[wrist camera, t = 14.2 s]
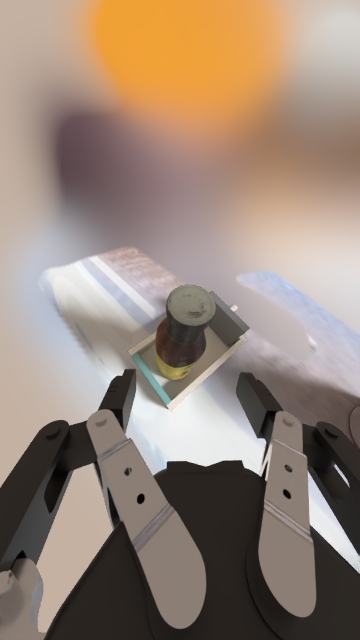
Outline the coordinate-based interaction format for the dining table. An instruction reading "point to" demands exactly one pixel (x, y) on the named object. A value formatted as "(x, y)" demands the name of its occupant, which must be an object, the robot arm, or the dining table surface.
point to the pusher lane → (206, 365)
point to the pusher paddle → (226, 321)
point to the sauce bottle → (183, 331)
